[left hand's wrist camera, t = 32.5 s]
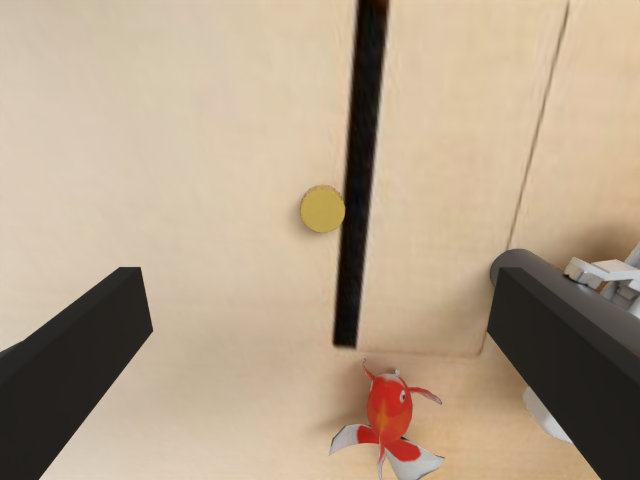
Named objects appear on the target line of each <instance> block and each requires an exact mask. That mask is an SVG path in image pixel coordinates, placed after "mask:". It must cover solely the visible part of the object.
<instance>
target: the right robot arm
mask: <svg viewBox="0 0 640 480" xmlns="http://www.w3.org/2000/svg"><path fill="white" fill-rule="evenodd" d="M563 274H565V275H566V276H569V278H571V279H573V280H575V281H576V282H578V283H581V284H583V285H586V286H588V287H590V288H592V289H594V290H596V289H597V288H598V287H599V285H600V284H601V283H602V282H603V281H609V282H608V283H607V284H606V286H605V287H604V288H603V290H602V291H601V292H600V295H602V296H604V297H605V298H607V299H608V300H610V301H612V302H613V303H615V304H617V305H618V306H620V307H622V308H623V309H625V310H627V311H628V312H630V313H631V314H633V315H635V316H636V317H638V318H640V242H639V243H638V244H637V245H636V247H635V248H634V249H633V251H632V252H631V253H630V255H629V256H628V257H627V258H626V260H625V261H624V262H621V261H619V260H617V259H614V260H607V261H600V262H592V263H591V264H589V263H587V262H585V261H583V260H580V259H578V258H576V257H573V258H572V260H571V261H570V262H569V264H568V265H567V267H566V268H565V270H564V271H563ZM522 397H523V400H524V403H525V405H526V407H527V409H528V411H529V412H530V414H531V415H532V417H533V418H534V419H535V421H536V422H537V423H538V425H539V426H540V427H541V428H542V429H543V430H544V431H545V432H546V433H548V434H549V435H551V436H553V437H555V438H558V439H560V440H563V441H566V442H568V443H571V444H573V442H572V441H571V440H570V438H569V437H568V436H567V435H566V433H565V432H564V431H563V429H562V428H561V427H560V425H559V424H558V423H557V422H556V420H555V419H554V418H553V416H552V415H551V414H550V412H549V411H548V410H547V409H546V407H545V406H544V405H543V403H542V402H541V401H540V399H539V398H538V397H537V396H536V394H535V393H534V392H533V390H532V389H531V388H530V386H528V387H527V389H526V390H525V391H524V393H523V395H522Z"/></svg>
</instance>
